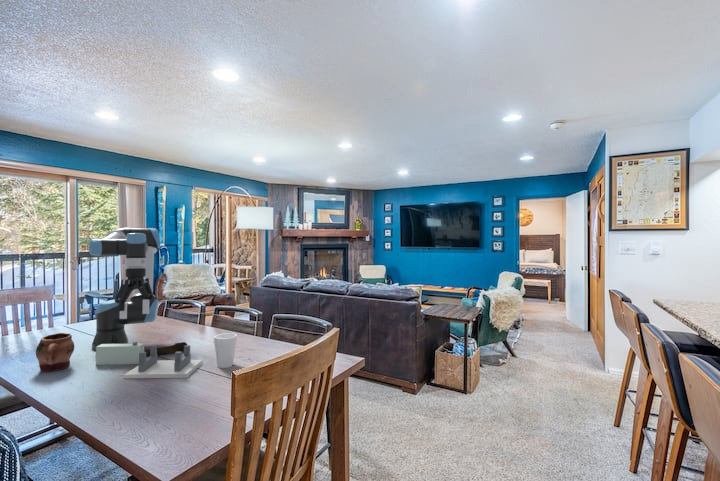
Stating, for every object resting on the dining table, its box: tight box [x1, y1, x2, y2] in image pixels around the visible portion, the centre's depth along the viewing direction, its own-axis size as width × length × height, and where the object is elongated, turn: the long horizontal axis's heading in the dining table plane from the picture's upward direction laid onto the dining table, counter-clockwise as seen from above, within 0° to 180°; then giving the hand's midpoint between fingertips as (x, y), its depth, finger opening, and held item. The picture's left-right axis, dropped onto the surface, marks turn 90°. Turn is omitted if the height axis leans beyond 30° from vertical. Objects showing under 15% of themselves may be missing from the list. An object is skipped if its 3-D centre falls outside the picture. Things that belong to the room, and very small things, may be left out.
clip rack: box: [123, 344, 203, 379], centre depth 147 cm, size 16×24×9 cm, turn 94°
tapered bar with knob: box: [95, 341, 145, 366], centre depth 155 cm, size 4×18×9 cm, turn 96°
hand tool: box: [144, 341, 188, 358], centre depth 167 cm, size 19×4×5 cm, turn 122°
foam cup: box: [213, 332, 238, 369], centre depth 153 cm, size 10×9×13 cm
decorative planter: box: [35, 332, 75, 373], centre depth 146 cm, size 20×12×14 cm, turn 36°
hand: (135, 316), depth 154 cm, fingers open, 13 cm apart
